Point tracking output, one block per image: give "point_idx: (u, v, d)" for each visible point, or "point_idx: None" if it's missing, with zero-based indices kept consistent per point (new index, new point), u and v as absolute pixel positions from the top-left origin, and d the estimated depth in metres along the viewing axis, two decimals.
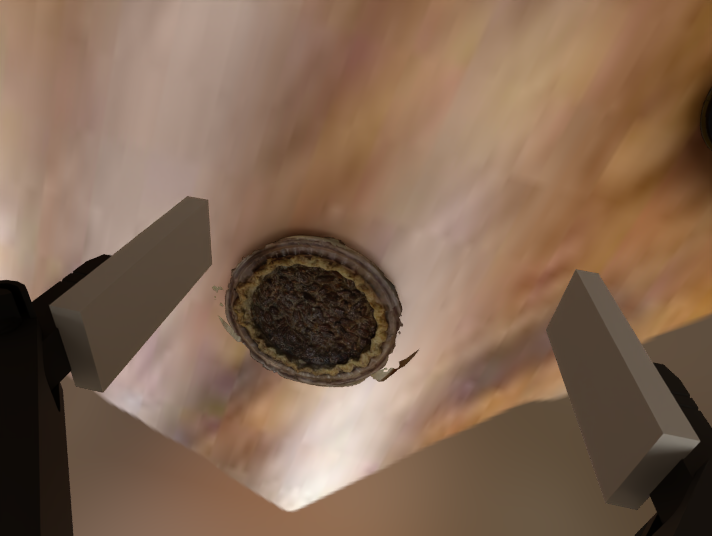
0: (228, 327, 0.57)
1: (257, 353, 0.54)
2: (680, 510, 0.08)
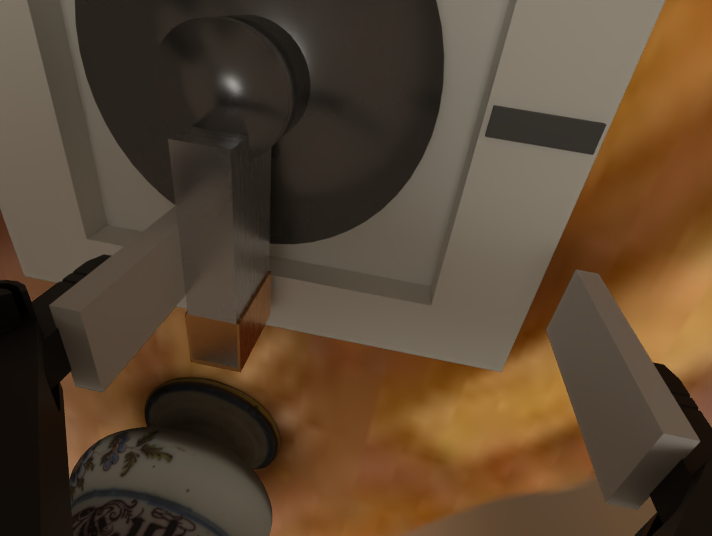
0: None
1: None
2: (680, 510, 0.08)
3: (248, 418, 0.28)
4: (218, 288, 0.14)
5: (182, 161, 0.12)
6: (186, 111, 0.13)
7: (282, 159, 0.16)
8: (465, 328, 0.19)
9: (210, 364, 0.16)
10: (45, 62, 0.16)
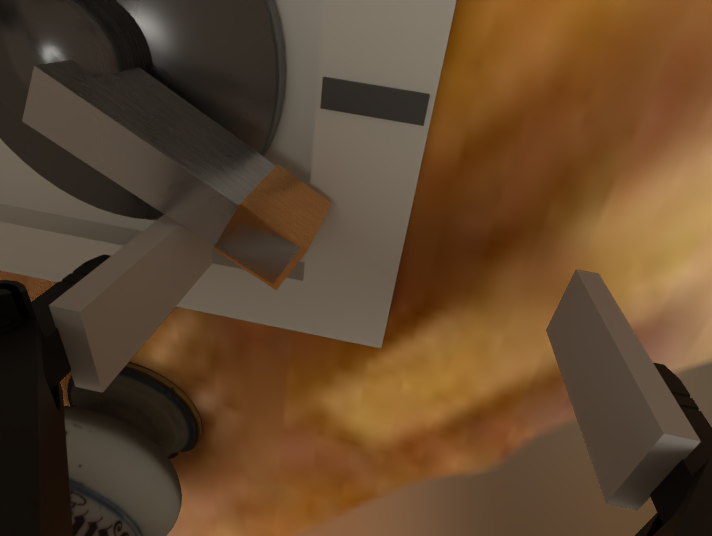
0: None
1: None
2: (681, 511, 0.08)
3: (164, 400, 0.28)
4: (188, 191, 0.13)
5: (44, 124, 0.12)
6: None
7: (176, 76, 0.15)
8: (339, 304, 0.19)
9: (286, 273, 0.14)
10: None
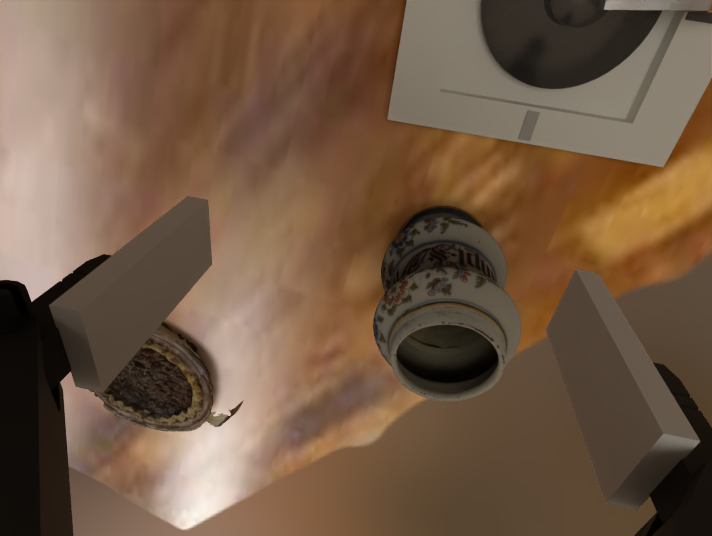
0: None
1: (109, 404, 0.66)
2: (680, 510, 0.08)
3: None
4: None
5: (615, 3, 0.28)
6: (589, 11, 0.29)
7: None
8: (648, 137, 0.36)
9: None
10: None
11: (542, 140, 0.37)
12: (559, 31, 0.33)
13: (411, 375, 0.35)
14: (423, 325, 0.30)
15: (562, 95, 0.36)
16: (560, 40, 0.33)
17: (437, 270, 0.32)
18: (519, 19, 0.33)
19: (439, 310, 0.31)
